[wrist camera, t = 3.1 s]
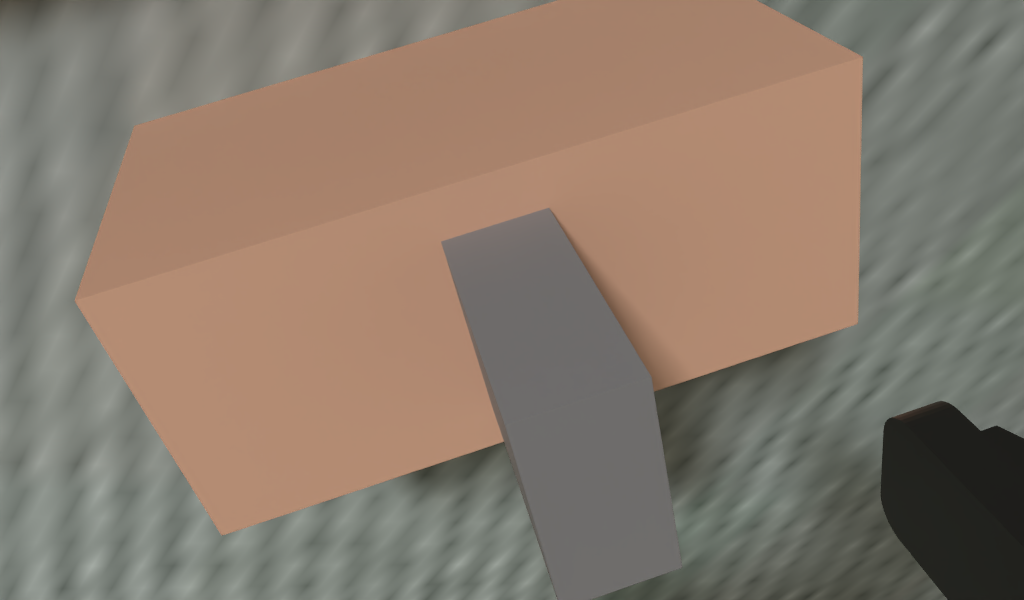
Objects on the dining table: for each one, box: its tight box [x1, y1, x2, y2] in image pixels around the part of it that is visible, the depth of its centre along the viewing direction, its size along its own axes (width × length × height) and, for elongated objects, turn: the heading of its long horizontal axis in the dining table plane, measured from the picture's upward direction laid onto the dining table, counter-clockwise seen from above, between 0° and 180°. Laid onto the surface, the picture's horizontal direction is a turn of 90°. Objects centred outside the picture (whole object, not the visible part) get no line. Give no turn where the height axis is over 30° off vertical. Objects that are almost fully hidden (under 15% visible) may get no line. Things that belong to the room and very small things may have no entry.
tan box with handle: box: [75, 0, 863, 600], centre depth 18 cm, size 14×6×13 cm, turn 103°
